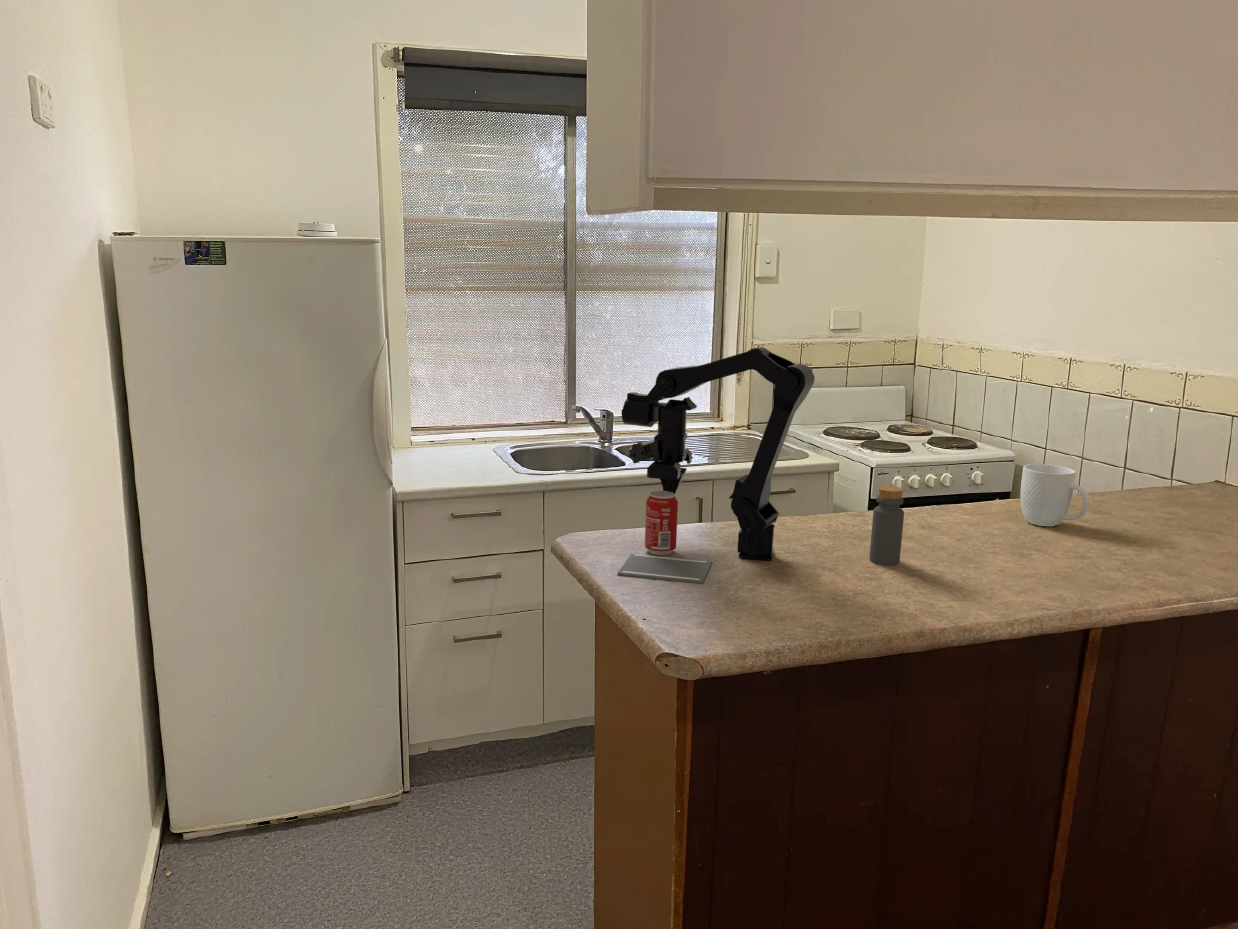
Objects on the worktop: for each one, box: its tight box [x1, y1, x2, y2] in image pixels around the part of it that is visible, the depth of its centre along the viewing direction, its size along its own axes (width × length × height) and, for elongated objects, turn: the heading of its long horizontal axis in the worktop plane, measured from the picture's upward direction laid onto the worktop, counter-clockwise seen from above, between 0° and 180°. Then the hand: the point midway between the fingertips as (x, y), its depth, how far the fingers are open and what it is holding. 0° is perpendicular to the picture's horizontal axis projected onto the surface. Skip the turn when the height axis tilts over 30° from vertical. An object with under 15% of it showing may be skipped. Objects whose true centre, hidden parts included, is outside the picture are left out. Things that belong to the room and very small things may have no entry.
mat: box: [617, 553, 712, 585], centre depth 178 cm, size 16×12×1 cm
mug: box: [1019, 463, 1090, 526], centre depth 215 cm, size 15×11×13 cm
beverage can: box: [644, 490, 679, 556], centre depth 188 cm, size 6×6×12 cm
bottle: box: [868, 485, 905, 566], centre depth 185 cm, size 6×6×15 cm
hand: (668, 503), depth 195 cm, fingers closed
